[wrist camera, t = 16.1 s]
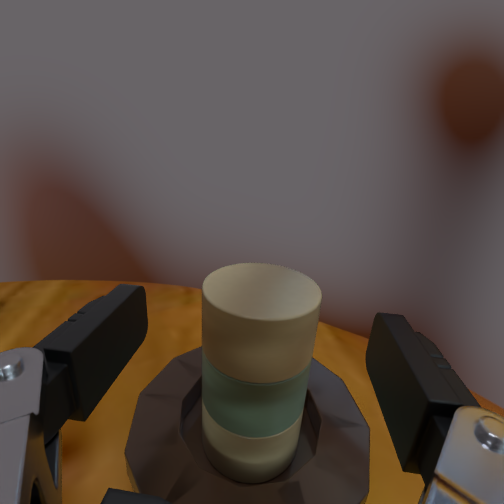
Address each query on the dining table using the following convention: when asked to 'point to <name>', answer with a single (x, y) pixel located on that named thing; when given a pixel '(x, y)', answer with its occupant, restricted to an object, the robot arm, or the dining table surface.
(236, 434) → the disc stack
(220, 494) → the stand
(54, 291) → the dining table surface
